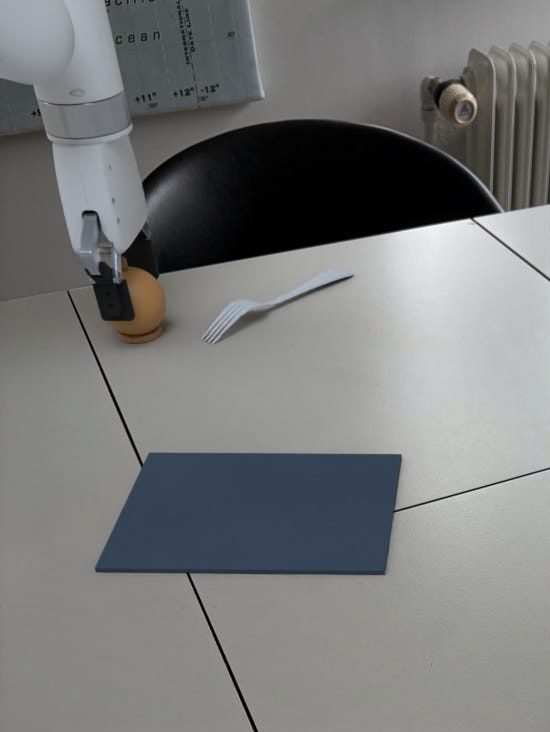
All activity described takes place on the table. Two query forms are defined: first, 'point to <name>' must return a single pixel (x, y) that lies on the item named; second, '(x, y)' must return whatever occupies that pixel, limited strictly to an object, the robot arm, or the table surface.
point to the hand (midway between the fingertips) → (132, 298)
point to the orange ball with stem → (141, 306)
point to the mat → (256, 514)
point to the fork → (249, 304)
